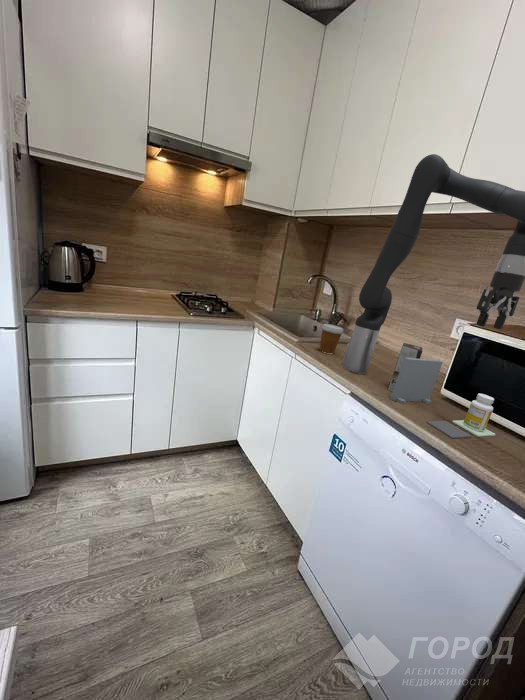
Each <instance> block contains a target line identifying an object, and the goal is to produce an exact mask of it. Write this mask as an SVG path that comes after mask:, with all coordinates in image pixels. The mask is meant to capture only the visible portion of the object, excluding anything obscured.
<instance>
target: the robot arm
mask: <svg viewBox="0 0 525 700" xmlns="http://www.w3.org/2000/svg"><path fill="white" fill-rule="evenodd" d="M412 173H413V174H412V176H411V179H410V182H409V185H408V187H407V190H406V192H405V193H406V194H405V197H404V199H403V201H402V204H401V206H400V208H399V210H398V212H397V215H396V217H395V219H394V221H393V223H392V225H391V228H390V230H389V232H388V234H387V237H386V239H385V240H384V244H383V246H382V248H381V251H380V252H379V254H378V257H377V259H376V262H375V263H374V266H373V268H372V270H371V272H370V274H369V275H368V277H367V279H366V280H365V282H364V284H363V286H362V288H361V290H360V292H359V295H358V301H359V305H360V306H361V308H363V309H364V311H363V312H362V314H361V315H359V316H358V317H357V318H356V319H355V323H354V328H353V329H352V333H351V338H350V341H348V342H347V345H346V349H345V352H344V356H343V359H342V362H341V366H343V369H345V368H346V369H345V370H347V371H349V372H351V371H352V372H351V373H354V372H355V374H359V373H360V375H361V374H362V375H366V374H367V372H368V369H369V366H370V363H371V360H372V356H373V353H374V350H375V347H376V343H377V340H378V336H379V334H380V330H381V327H382V326H383V324H384V323H385V321H386V319H387V316H388V313H389V310H390V307H391V304H392V301H393V300H392V299H393V294H392V291H391V290H390V289H389V288H388V287H387V285H388V282H389V281H390V278H391V276H392V275H393V274H394V272H395V271H396V270H397V269H398V267H400V266H401V264H402V263H403V262H404V261H405V260H406V259H407V258H408V256H409V255H410V253H411V252H412V250H413V248H414V245H415V243H416V242H417V240H418V236H419V235H420V231H421V227H422V221H423V218H424V217H423V216H424V211H425V207H426V205H427V203H428V201H429V199H430V196H431V194H432V193H433V194H440V195H445V196H449V197H453V198H455V199H459V200H462V201H464V202H467V203H469V204H471V205H473V206H476V207H479V208H480V209H483V210H485V211H488V212H491V213H493V214H496V215H505V216H507V217H511V218H514V219H515V220H517V223H516V226H515V228H514V230H513V232H512V235H511V236H510V237H509V238H508V240H507V242H506V244H505V246H504V250H503V252H502V255H501V257H500V258H499V261H498V262H497V264H496V265H497V266H496V268H495V270H494V273H493V275H492V278H491V281H490V283H489V286H490V288H492V289H488V288H485V289H484V290H483V292H482V293H481V296H480V298H479V300H478V304H477V305H476V310H478V311H479V312H480V313H479V316H478V318H477V320H476V326H478V327H483V328H484V327H486V324H487V323H488V319H489V316H490V313H492V311H493V310H495V309H496V310H497V314H498V315H497V317H496V320H495V321H494V324H493V328H494V329H496V330H502V329H503V327H504V324H505V322H506V320H507V318H509V317H513V316H514V313H515V310H516V308H517V305H518V303H519V301H520V296H517V295H514V293H519V292H520V291H521V289H522V288H523V285H524V282H525V191H524V190H518V189H515V188H513V187H509V186H507V185H503V184H502V183H501V184H500V183H498V182H495V181H491V180H487V179H479V178H473V177H469V176H466V175H463V174H461V173H459V172H457V171H456V170H454V169H452V168H451V167H450V166H449V165H448V163H447V162H446V161H445V160H444V158H443V157H442V156H441V155H438V154H436V153H434V154H428V155H426V156H424V157H423V158H421V160H420V161H419V162H418V164H416V166H415V168H414V171H413V172H412Z"/></svg>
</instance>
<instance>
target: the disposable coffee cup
mask: <svg viewBox="0 0 525 700" xmlns="http://www.w3.org/2000/svg"><path fill="white" fill-rule="evenodd" d="M343 333H344V328H343V327H341V326H338V325H334V324H329V323H323V325H322V326H321V336H320V343H319V350H321V351H323V352H326V353H335V351H336V348H337V347H338V346H337V345H338V344H339V341H340V339H341V337H342V334H343Z"/></svg>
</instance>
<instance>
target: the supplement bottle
mask: <svg viewBox="0 0 525 700" xmlns="http://www.w3.org/2000/svg"><path fill="white" fill-rule="evenodd" d="M494 402H495V398H494V397H492V396H489V395H487V394H484V393H478V394H477V395H476V399H474V400H472V401H471V403H470V405H469V407H468V410H467V413H466V415H465V417H464V419H463V420H464V422H463V423H464V425H465V426H467V427H469V428H471V429H473V430H476V431H484V430H485V429H487V425H488V422H489V421H490V417H491V415H492V414H493V411H494V407H493V406H492V404H494Z"/></svg>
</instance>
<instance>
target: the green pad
mask: <svg viewBox="0 0 525 700" xmlns="http://www.w3.org/2000/svg"><path fill="white" fill-rule="evenodd" d="M451 422H452V423H453V424H455V425H457V426H459V427H461V429H464V430H465V431H467V432H469V433H471V434H473V435H474V436H476V437H492V436H493V437H494V436H497V435H496V433H494V432H492V431H491V430H489V429H487V428H485V430H484V431H476V430H473V429H471V428H469V427H467V426H465V425H464V423H463V422H464V419H462V420H452V421H451Z"/></svg>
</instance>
